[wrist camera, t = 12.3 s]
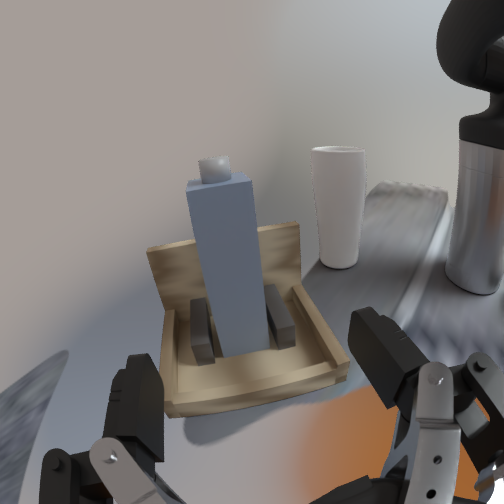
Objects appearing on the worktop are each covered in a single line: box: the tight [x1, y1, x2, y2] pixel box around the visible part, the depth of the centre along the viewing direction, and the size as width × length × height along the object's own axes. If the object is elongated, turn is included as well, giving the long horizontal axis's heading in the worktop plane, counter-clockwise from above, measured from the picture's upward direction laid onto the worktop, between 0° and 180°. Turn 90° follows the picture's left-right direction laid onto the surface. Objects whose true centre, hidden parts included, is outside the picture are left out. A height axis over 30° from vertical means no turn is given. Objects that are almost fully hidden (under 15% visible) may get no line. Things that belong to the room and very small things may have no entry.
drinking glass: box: [311, 146, 367, 269], centre depth 32 cm, size 7×7×15 cm
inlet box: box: [146, 221, 350, 418], centre depth 21 cm, size 14×12×9 cm
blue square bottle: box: [186, 156, 270, 358], centre depth 20 cm, size 4×4×16 cm
